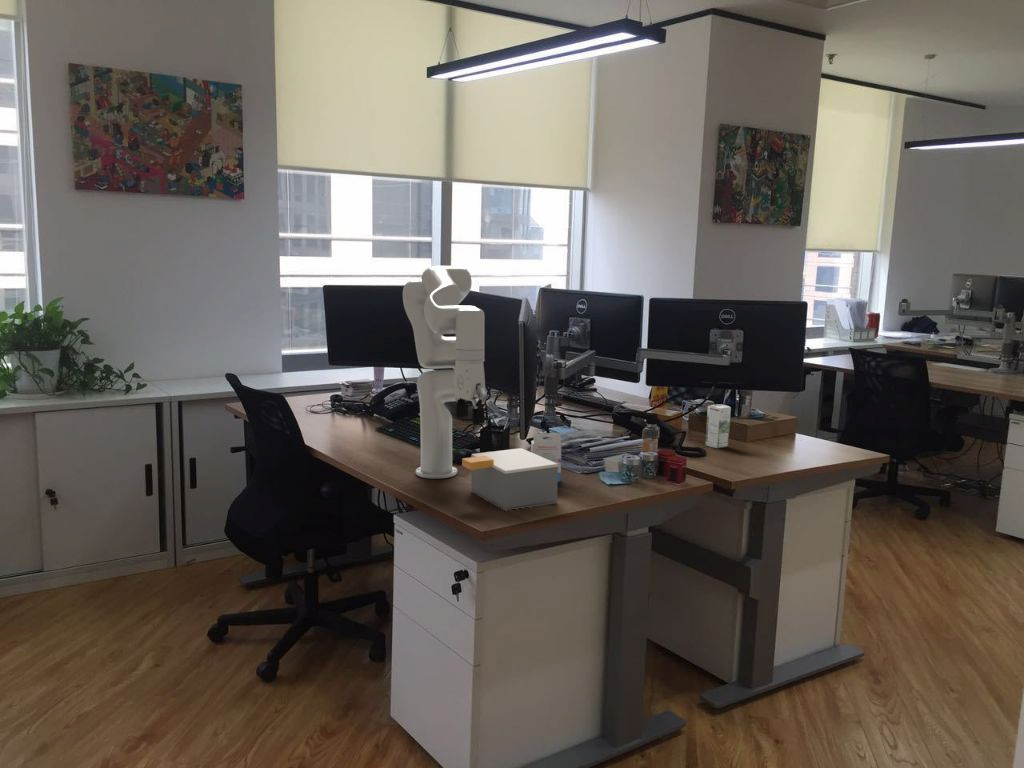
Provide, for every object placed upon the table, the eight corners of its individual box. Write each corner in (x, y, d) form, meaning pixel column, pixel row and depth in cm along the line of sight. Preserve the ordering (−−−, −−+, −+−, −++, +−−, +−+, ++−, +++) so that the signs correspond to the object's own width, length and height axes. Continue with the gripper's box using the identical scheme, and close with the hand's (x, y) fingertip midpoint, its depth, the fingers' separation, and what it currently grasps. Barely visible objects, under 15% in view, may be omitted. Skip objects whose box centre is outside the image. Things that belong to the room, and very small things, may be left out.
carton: (471, 491, 241) (471, 457, 239) (520, 484, 248) (521, 451, 247) (505, 511, 223) (505, 474, 222) (557, 502, 231) (557, 467, 229)
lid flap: (450, 459, 236) (450, 452, 236) (521, 450, 247) (521, 444, 246) (483, 476, 219) (483, 469, 218) (557, 466, 229) (557, 459, 229)
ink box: (558, 477, 256) (559, 429, 254) (561, 482, 251) (561, 433, 249) (530, 478, 255) (531, 429, 253) (532, 482, 251) (533, 433, 248)
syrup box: (716, 443, 302) (718, 403, 300) (729, 447, 297) (731, 406, 295) (704, 445, 299) (706, 405, 297) (717, 449, 294) (719, 407, 292)
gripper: (443, 352, 228) (443, 415, 231) (471, 360, 214) (471, 427, 216) (468, 351, 232) (468, 413, 235) (498, 358, 217) (497, 424, 220)
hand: (470, 419), depth 225 cm, fingers open, 9 cm apart
